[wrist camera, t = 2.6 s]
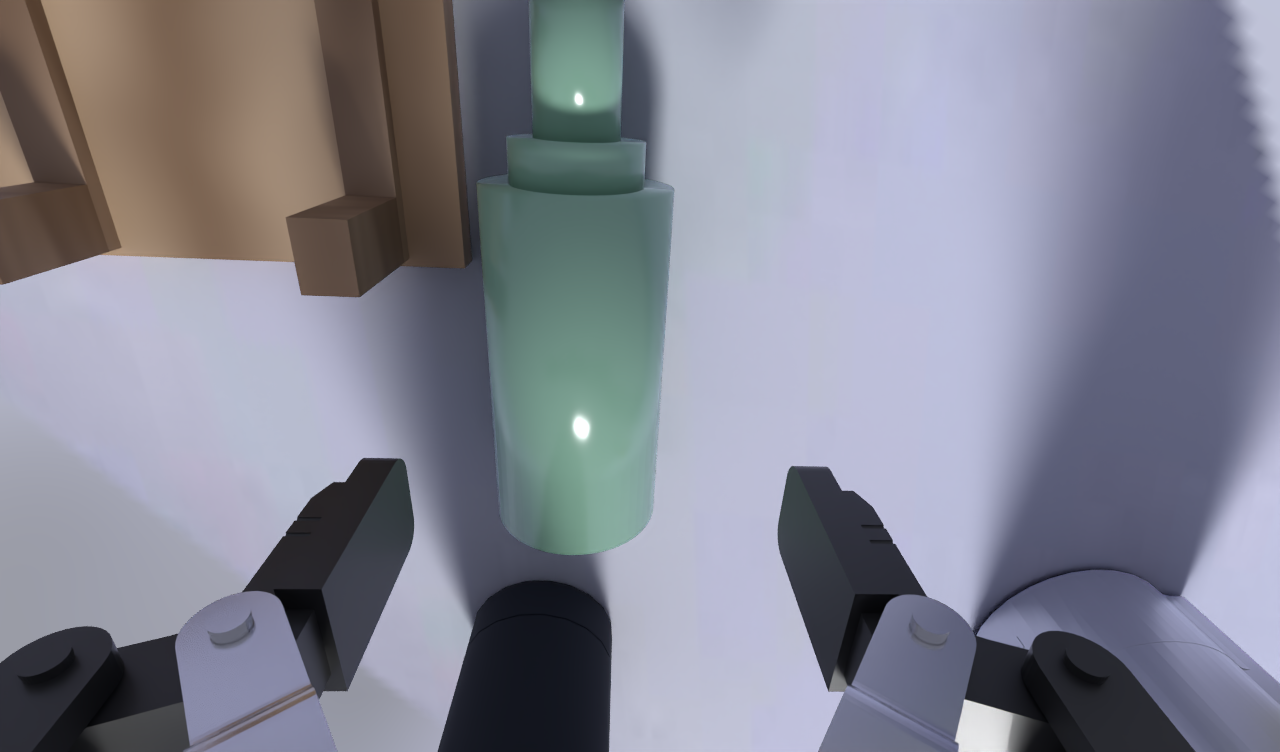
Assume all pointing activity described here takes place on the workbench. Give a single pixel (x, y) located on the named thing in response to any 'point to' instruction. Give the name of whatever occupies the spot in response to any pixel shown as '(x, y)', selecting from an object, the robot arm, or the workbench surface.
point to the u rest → (233, 135)
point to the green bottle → (575, 295)
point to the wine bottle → (534, 674)
